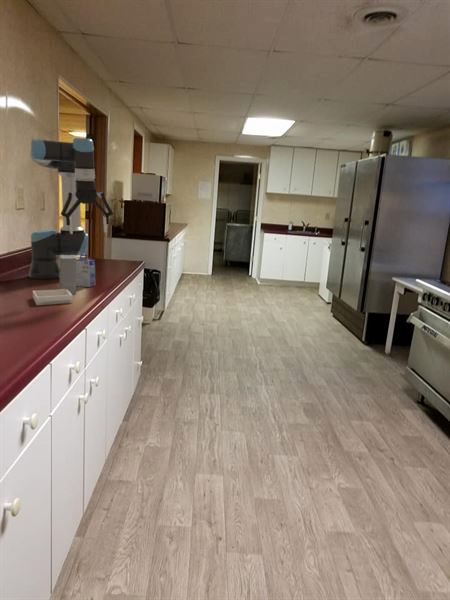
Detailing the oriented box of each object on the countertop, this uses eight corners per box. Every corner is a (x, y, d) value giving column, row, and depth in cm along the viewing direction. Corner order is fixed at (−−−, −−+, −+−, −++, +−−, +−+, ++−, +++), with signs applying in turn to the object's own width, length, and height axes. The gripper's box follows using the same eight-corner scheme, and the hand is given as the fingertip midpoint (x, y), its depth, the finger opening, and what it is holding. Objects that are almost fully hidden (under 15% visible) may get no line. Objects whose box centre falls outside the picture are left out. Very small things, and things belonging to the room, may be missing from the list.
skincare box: (59, 291, 184) (57, 254, 181) (76, 290, 187) (75, 254, 184) (60, 295, 177) (58, 257, 173) (78, 294, 180) (76, 257, 176)
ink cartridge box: (96, 285, 200) (95, 254, 197) (90, 287, 195) (89, 256, 192) (77, 283, 202) (76, 253, 199) (70, 285, 197) (69, 254, 193)
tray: (33, 298, 170) (32, 290, 170) (67, 295, 177) (66, 288, 176) (36, 305, 159) (36, 297, 159) (72, 302, 166) (72, 295, 165)
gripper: (52, 180, 161) (57, 235, 168) (119, 181, 171) (120, 233, 179) (51, 178, 167) (55, 232, 174) (115, 179, 178) (116, 229, 185)
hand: (88, 232), depth 176 cm, fingers open, 13 cm apart
